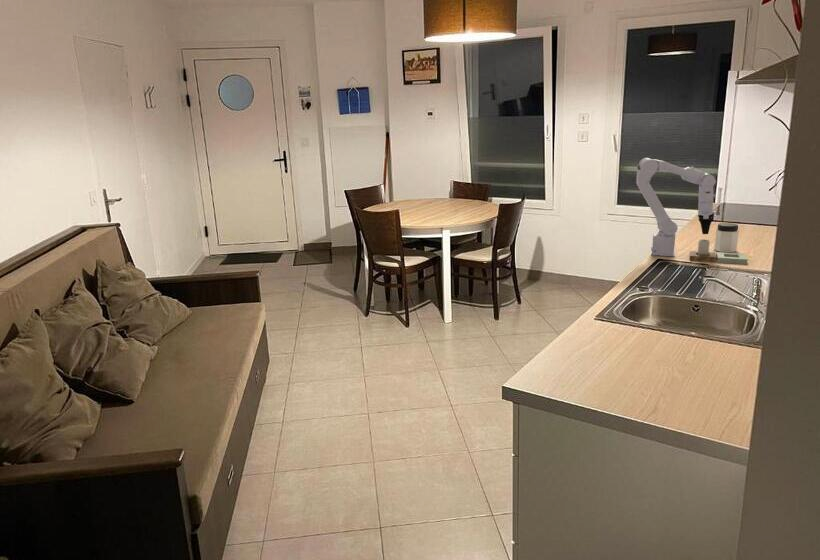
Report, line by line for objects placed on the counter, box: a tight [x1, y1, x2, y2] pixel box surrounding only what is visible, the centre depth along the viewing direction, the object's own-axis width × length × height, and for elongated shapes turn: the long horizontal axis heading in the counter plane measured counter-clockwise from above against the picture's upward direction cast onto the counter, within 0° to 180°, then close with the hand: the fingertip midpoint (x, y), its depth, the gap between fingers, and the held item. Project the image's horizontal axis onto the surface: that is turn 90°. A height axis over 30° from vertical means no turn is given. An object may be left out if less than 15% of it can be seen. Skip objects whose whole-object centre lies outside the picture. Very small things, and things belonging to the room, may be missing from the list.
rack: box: [715, 251, 748, 265], centre depth 259 cm, size 11×11×2 cm
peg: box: [697, 238, 710, 256], centre depth 262 cm, size 4×4×8 cm
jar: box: [713, 222, 739, 253], centre depth 275 cm, size 9×8×12 cm
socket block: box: [689, 250, 717, 263], centre depth 263 cm, size 10×10×2 cm
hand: (704, 232), depth 268 cm, fingers open, 7 cm apart
